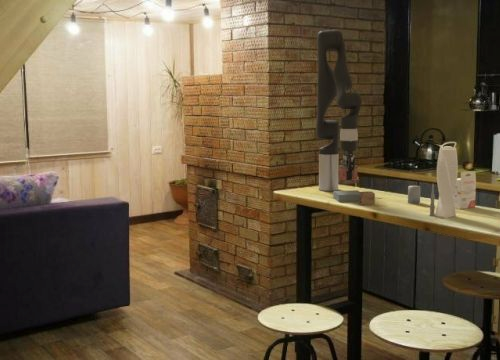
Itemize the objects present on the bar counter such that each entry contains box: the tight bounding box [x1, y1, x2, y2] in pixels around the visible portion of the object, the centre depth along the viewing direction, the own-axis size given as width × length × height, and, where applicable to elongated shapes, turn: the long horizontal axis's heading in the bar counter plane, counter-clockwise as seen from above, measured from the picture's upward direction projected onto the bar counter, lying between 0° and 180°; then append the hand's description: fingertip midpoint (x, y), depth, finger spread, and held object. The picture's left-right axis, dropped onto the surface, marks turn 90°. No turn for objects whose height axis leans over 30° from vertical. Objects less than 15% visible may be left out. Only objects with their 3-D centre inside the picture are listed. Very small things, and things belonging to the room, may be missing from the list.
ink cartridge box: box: [453, 170, 477, 210], centre depth 245 cm, size 9×5×15 cm, turn 117°
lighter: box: [338, 159, 359, 184], centre depth 265 cm, size 8×3×10 cm, turn 84°
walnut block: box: [359, 190, 376, 206], centre depth 255 cm, size 5×5×5 cm
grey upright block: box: [407, 185, 421, 205], centre depth 257 cm, size 5×5×7 cm
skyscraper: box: [428, 141, 459, 219], centre depth 228 cm, size 8×8×28 cm
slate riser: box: [332, 189, 361, 203], centre depth 267 cm, size 11×11×3 cm
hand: (348, 178), depth 266 cm, fingers closed on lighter, 3 cm apart
